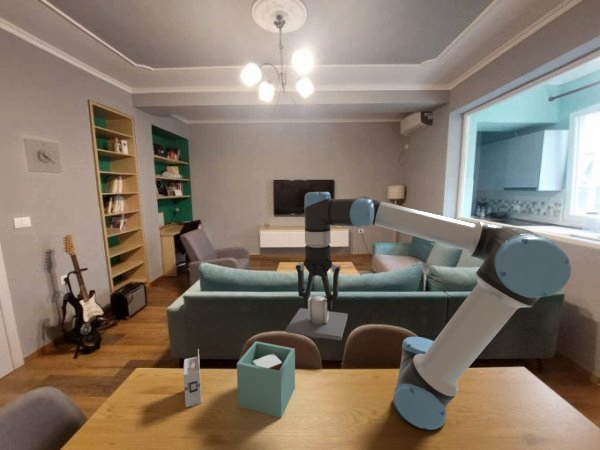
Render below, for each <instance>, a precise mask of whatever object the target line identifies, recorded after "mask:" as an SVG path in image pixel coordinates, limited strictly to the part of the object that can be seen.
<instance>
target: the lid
mask: <svg viewBox="0 0 600 450" xmlns="http://www.w3.org/2000/svg"><path fill="white" fill-rule="evenodd" d="M311 297H312V298H311V321H310V320H308V309H305V307H304V308H303V307H300V308H299V309H298V310H297V311H296V314H295V315H294V316H293V317H292V319H291V321H290V322H289V324H288V325H287V327H286V328H285V332H286V333H287V334H294V335H300V336H306V337H307V336H308V337H309V338H313V339H320V338H322V339H329V340H335V341H342V338H343V334H344V331H345V328H346V324H347V320H348V316H349V314H348V313H345V312H338V311H329V319H328V321H327V323H325V322H324V301H325V299H326V297H324V296H322V295H315V296H311Z"/></svg>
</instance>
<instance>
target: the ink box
mask: <svg viewBox="0 0 600 450" xmlns="http://www.w3.org/2000/svg"><path fill="white" fill-rule="evenodd" d="M199 352H200V349H199V348H198V349H197V356H194V357H189V358H185V359H184V361H183V382H184V383H183V386H184V399H185V400H184V401H185V402H184V403H185V408H189V407H194V406H196V405H200V404H202V385H201V383H202V382H201V367H200V364H201V363H200V353H199Z"/></svg>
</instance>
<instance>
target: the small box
mask: <svg viewBox="0 0 600 450" xmlns="http://www.w3.org/2000/svg"><path fill="white" fill-rule="evenodd" d="M253 365H256V366H260V367H265V368H269V369H274V370H280V368H281V367H282V362H281V361H280V360H279V359H278V357H277V356H276V355H275V354H274V353H273V354H270V355H267V356H264V357H261V358H259V359H257V360H254V361H253Z"/></svg>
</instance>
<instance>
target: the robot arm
mask: <svg viewBox="0 0 600 450" xmlns="http://www.w3.org/2000/svg"><path fill="white" fill-rule="evenodd" d="M303 206H304V207H303V210H304V212H303V213H304V244H305V247H304V261H303V262H302V263H300V262H299V263H297V264H296V265H295V270H296V272H297V289H298V290H297V291H298V296H299V297H300V298H301V297H302V298H303V299H304V309H308V320H310V321H311V298H312V297H313V296H311V293H312V289H313V283H314V280H315V279H314V278H315V277H317V276H318V277H320V278H321V280H322V285H323V286H322V287H323V289H324V293H325V301H324V322H325V323H327V321H328V319H329V312H332V308H333V301H337V299H338V297H339V278H340V277H339V273H340V272H341V269H342V268H341V265H335V264H334V263H333V262H332V260H331V247H332V246H331V245H330V244H331V243H332V242H331V226H343V227H355V228H360V227H362V228H364V227H366V228H367V227H371V226H372V225H374V226H377V227H381V228H384V229H388V230H392V231H394V232H399V233H401V234H406V235H408V236H409V235H410V236H412V237H415V238H420V239H423V240H426V241H431V242H433V243H436V244H437V243H438V244H441V245H443V246H444V245H445V246H447V247H451V248H454V249H458V250H462V251H465V252H466V254H467V255H468V256H470V257H473V258H475V259H476V258H477V259H479V260H481V261H483V263H482V264H481V265H480V266H479V267H478V269H477V271H476V272H475V277H476V280H477V284H476V285H474V287H473V288H472V290H471V292H470V293H469V294H468V295H467V297H466V298H465V300H464V301H463V302H462V303H461V305H460V306H459V307H458V308H457V310H456V311H455V313H454V314H453V315H452V317H451V318H450V320H449V321H447V323H446V324H445V327H443V329H442V330H441V332H440V333H439V334H438V335H437V337H436V338H435V340H432V339H429V338H426V337H421V336H408V337H406V338H405V339H403V341H402V345H401V348H402V349H401V350H402V351H401V361H400V366H399V370H398V376H397V380H396V387H395V389H394V394H393V402H392V403H393V407H394V411H395V413H396V414H397V415H398V416H399V417H400V418H401V420H402V421H404V422H405V423H406V424H408V425H409V426H411V427H413V428H415V429H419V430H422V431H427V432H430V431H431V432H433V431H437V430H439V428H440V429H441V428H442V427H444V425H445V423H446V419H447V410H446V409H447V406H448V405H449V404H450V403H451V402H452V400H453V399H454V398H455V397H456V395H458V393H459V385H458V381H459V380H460V379H461V377H462V376H463V375H464V373H465V372H466V371H467V370H468V369H469V368H470V366H471V365H472V364H473V363H474V362H475V361H476V359H477V358H478V357H479V355H480V354H481V353H482V352H483V351H484V350H485V348H486V347H487V346H488V345H489V344H490V342H491V341H492V340H493V339H494V338H495V337H496V335H497V334H498V333H499V332H500V331H501V330H502V328H503V327H504V326H505V324H506V323H508V321H509V320H510V319H511V317H512V316H513V315H514V314H515V312H517V310H518V309H521V308H532V307H533V306H534V305H535V303H537V302H538V300H539V299H540V298H544V297H550V296H553V295H556V294H557V293H559V292H560V291H561V290H562V289H564V287H566V285H567V283H568V282H569V280H570V278H571V273H572V265H571V261H570V259H569V256H568V255H567V254H566V252H565V251H564V250H563V249H562V248H561V247H560V246H559V245H558V244H556V242H554V241H553V240H551V239H549V238H547V237H545V236H542V235H539V234H537V233H534V232H533V231H531V230H529V229H525V228H519V227H513V226H506V225H499V224H494V223H493V224H492V223H488V222H484V221H478V222H476V223H472V222H467V221H462V220H459V219H455V218H451V217H447V216H443V215H438V214H434V213H430V212H426V211H422V210H417V209H413V208H409V207H406V206H400V205H398V204H393V203H389V202H384V201H381V200H376V199H373V198H371V197H368V196H359V197H353V198H332V197H331V193H330V192H329V191H313V192H311V191H310V192H307V193H306V194H304V204H303ZM305 269H306V270H307V272H308V276H307V278H308V279H307V281H306V286H305V274H304V273H305V271H304V270H305ZM329 270H331V272H332V273H333V275H332V289H331V286H330V281H329V280H330V279H329V275H328V272H330V271H329Z"/></svg>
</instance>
